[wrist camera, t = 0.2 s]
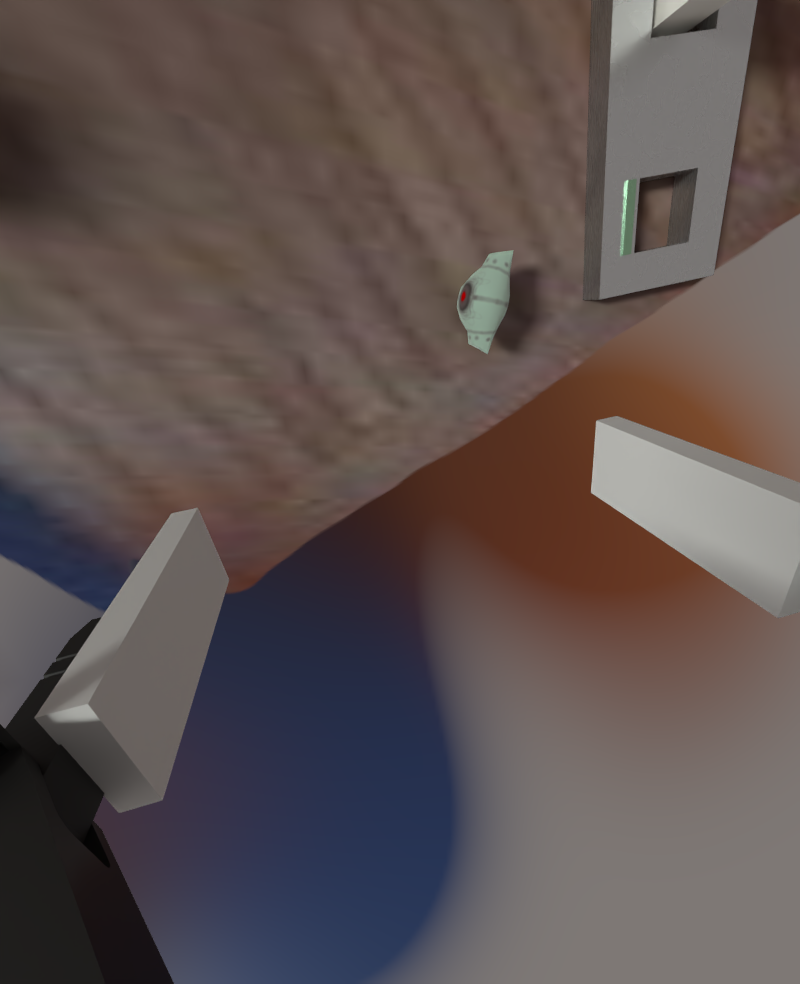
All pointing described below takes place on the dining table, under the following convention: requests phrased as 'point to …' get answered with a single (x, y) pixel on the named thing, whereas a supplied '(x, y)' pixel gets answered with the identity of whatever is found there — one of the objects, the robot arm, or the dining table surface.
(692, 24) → the plug
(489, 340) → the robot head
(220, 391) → the dining table surface
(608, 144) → the panel
